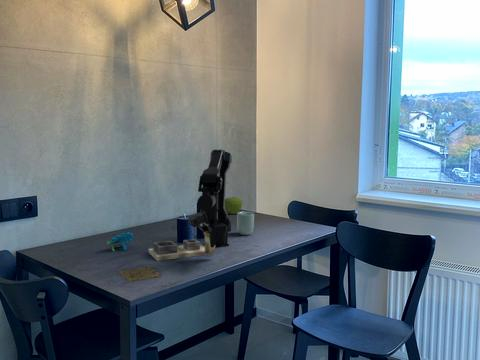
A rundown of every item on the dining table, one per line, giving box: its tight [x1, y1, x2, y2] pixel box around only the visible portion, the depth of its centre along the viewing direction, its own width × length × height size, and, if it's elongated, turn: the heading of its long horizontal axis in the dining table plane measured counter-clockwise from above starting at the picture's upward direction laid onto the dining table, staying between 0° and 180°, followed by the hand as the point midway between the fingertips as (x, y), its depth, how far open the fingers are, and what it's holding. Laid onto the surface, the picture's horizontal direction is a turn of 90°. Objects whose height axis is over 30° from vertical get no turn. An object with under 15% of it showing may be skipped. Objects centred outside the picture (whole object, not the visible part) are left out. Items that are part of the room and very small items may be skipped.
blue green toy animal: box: [106, 231, 134, 253], centre depth 196 cm, size 11×6×10 cm
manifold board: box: [148, 238, 210, 261], centre depth 192 cm, size 22×12×4 cm, turn 116°
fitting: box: [203, 231, 216, 255], centre depth 184 cm, size 5×5×8 cm
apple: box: [225, 196, 243, 215], centre depth 274 cm, size 11×10×10 cm
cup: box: [236, 211, 255, 236], centre depth 226 cm, size 8×8×10 cm
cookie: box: [118, 266, 163, 283], centre depth 166 cm, size 12×12×1 cm
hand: (210, 246), depth 184 cm, fingers closed on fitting, 4 cm apart
